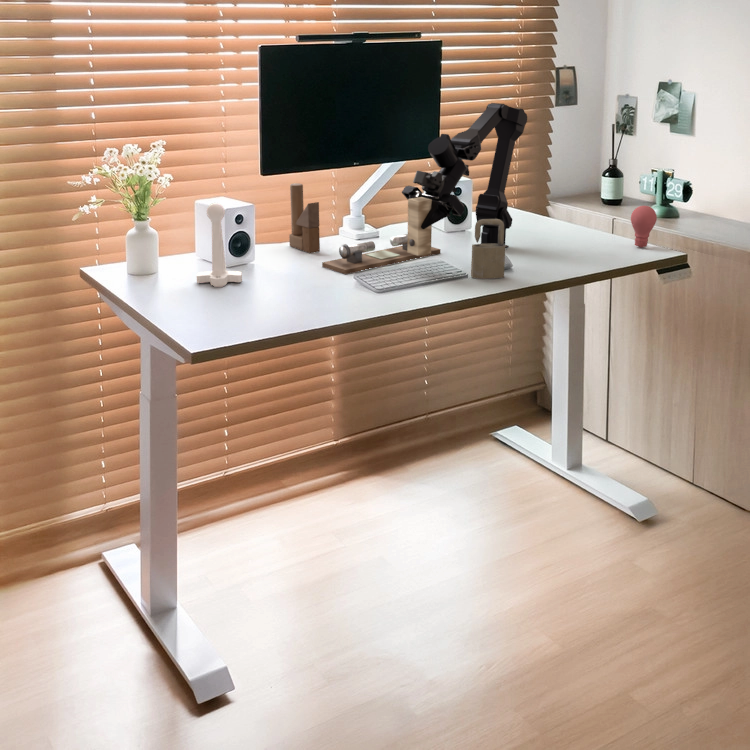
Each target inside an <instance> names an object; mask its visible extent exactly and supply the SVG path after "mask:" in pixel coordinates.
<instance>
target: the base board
mask: <svg viewBox="0 0 750 750" xmlns="http://www.w3.org/2000/svg"><path fill="white" fill-rule="evenodd" d="M439 254H441V249H440V248H437V247H434V246H431V253H430V254H425V255H419V256H417V255H414V254H411V253H408V252H407V250H403V245H398V246H393V247H389V248H384V249H381V250H380V249H379V250H376V251H375V250H374V251H369V252H365V253H362V262H361V263H356V264H354V263H351V262H348V261H347V259H343V258H342V257H341V258H337V259H333V260H332V259H331V260H328V261H323V262H322V263H321V266H322V268H325V269H328V270H331V271H334V272H337V273H340V274H343V275H348V274H349V275H350V274H353V273H358V271H359V272H362V271H361V270H363V271H366V270H365V269H368V270H370V269H369V268H372V269H376V268H375V267H377V268H380V267H386V266H389V265H394V263H395V264H398V262H399V263H403V262H402V261H404V262H407V261H406V260H408V261H411V260H410V259H413V260H416V259H415V258H417V259H420V257H422V258H426V257H430V256H434V255H439Z"/></svg>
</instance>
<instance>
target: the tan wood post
mask: <svg viewBox="0 0 750 750" xmlns="http://www.w3.org/2000/svg"><path fill="white" fill-rule="evenodd" d="M431 204H432V200H431V199H427V198H424V197H418V198H411V199H408V200H407V234H408V247H407V252H408V253H411V254H414V255H417V256H419V255H425V254H430V253H431V247H432V231H433V229H432V227H433V224H432V225H431V226H429V227H427V228H425V229H422V228H421V225H422V223H423V221H424V219H425V218H426V216H427V214H428V213H429V211H430V209H431Z"/></svg>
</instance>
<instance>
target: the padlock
mask: <svg viewBox="0 0 750 750" xmlns="http://www.w3.org/2000/svg"><path fill="white" fill-rule="evenodd" d="M481 225H498V244H495V243H490V244H481V243H479V242H480V240H481V233H482V229H481V227H482V226H481ZM474 238H475V241H476V243H475V244H474V243H473V244H471V265H470V266H471V267H470V268H471V269H470V275H471V278H472V279H480V280H481V279H482V280H483V279H484V280H485V279H486V280H487V279H490V280H491V279H502V278H505V264H506V263H505V262H506V248H505V247H506V246H505V245H506V244H505V245H504V244H503V240H504V223H503V222H502V221H501V220H500V219H481V220H479V221H478V222H477V221H476V222H475V226H474Z"/></svg>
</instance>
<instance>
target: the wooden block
mask: <svg viewBox="0 0 750 750" xmlns="http://www.w3.org/2000/svg"><path fill="white" fill-rule="evenodd" d="M289 187H290V188H289V190H290V192H289V193H290V195H289V196H290V218H291V219H290V220H291V221H290V222H291V223H290V224H291V233H289V237H288V238H289V247H292V248H295V249H298V250H300V251H303V252H304V253H308V254H314V252H315V253H319V252H320V251H321V250H320V249H321V245H320V244H321V243H320V239H321V237H320V202H317V201H315V202H310V203H307V205H306V206H305V207H304V185H303V183H300V182H296V183H295V182H294V183H290V185H289Z"/></svg>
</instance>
